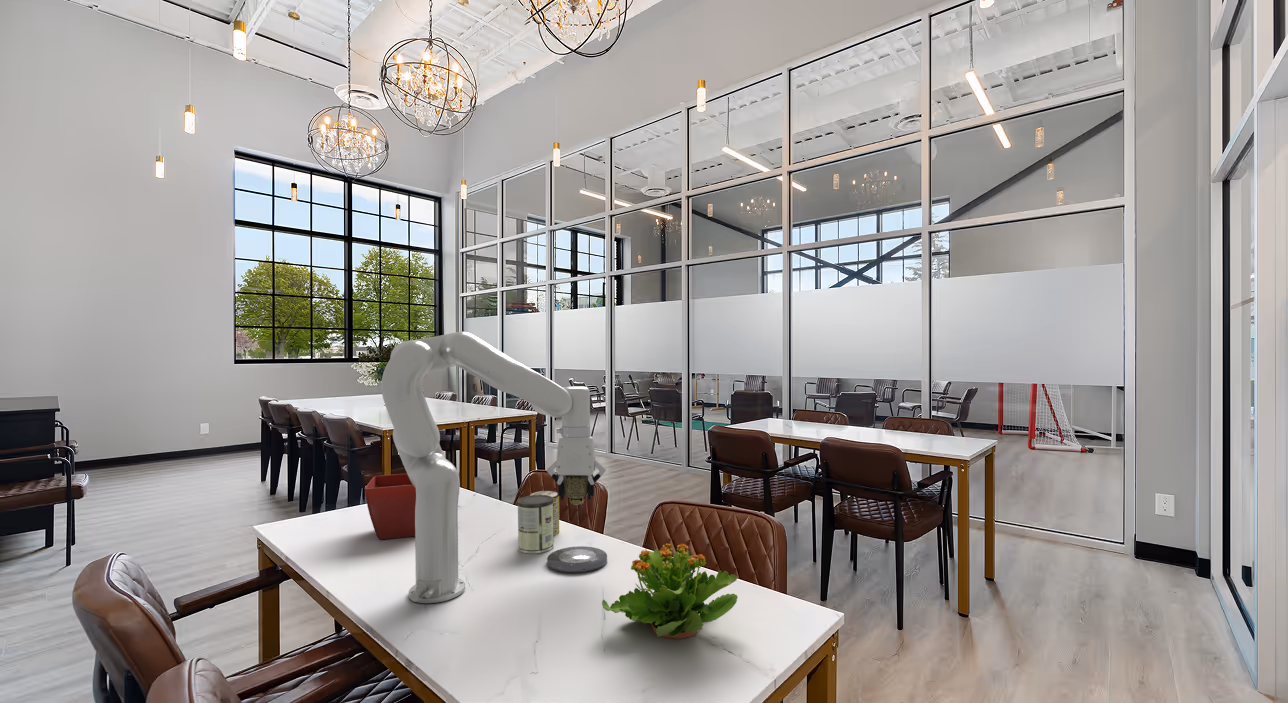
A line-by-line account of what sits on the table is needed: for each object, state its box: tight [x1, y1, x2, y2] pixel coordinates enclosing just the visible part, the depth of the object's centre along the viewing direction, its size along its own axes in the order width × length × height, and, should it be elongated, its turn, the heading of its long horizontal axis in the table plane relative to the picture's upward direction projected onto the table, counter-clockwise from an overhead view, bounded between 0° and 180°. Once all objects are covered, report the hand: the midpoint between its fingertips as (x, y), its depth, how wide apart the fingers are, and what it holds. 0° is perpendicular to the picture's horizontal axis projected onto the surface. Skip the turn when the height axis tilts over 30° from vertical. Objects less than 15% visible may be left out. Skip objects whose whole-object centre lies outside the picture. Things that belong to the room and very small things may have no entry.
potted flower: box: [601, 543, 739, 640], centre depth 115 cm, size 25×24×18 cm
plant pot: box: [364, 472, 416, 540], centre depth 179 cm, size 19×19×17 cm
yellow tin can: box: [529, 490, 560, 537], centre depth 177 cm, size 9×9×12 cm
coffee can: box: [517, 495, 555, 555], centre depth 163 cm, size 10×10×14 cm
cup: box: [563, 476, 589, 506], centre depth 152 cm, size 8×7×8 cm
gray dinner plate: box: [546, 545, 608, 575], centre depth 152 cm, size 16×16×2 cm
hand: (576, 497), depth 152 cm, fingers closed on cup, 6 cm apart
